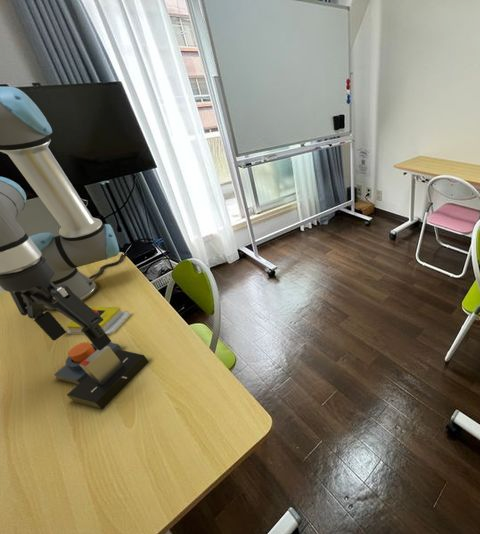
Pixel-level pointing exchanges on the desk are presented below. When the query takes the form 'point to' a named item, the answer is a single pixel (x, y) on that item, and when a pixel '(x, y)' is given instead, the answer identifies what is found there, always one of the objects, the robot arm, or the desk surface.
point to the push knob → (81, 352)
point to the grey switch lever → (101, 365)
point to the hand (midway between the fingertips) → (81, 340)
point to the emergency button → (110, 320)
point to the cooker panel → (108, 382)
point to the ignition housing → (77, 368)
